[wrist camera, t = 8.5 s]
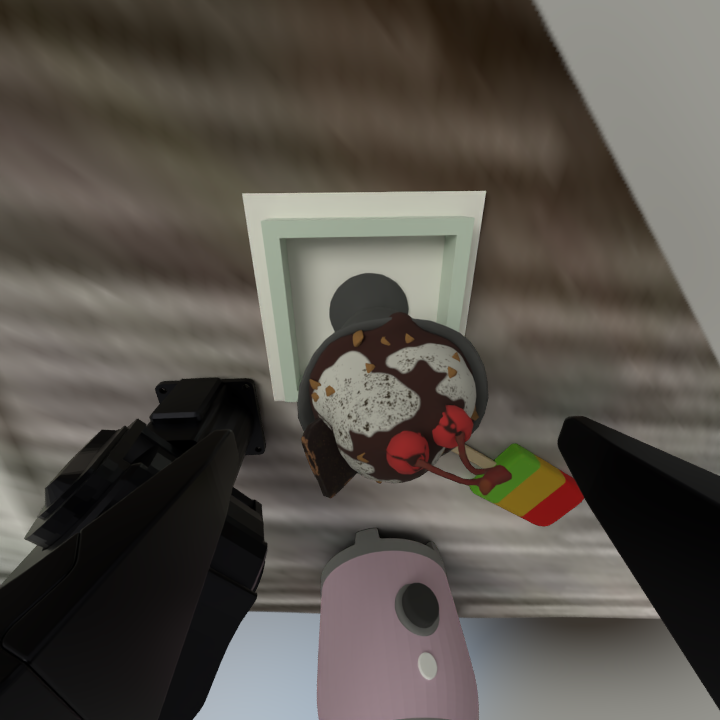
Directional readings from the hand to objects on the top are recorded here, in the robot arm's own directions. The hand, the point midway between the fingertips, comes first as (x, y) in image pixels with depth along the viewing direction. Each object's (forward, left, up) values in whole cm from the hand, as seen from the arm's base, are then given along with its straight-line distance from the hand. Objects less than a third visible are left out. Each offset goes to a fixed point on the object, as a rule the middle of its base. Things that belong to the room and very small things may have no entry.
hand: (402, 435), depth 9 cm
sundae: (-1, 0, -13) cm, 13 cm away
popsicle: (-16, -12, -14) cm, 24 cm away
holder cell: (-1, 0, -13) cm, 13 cm away
